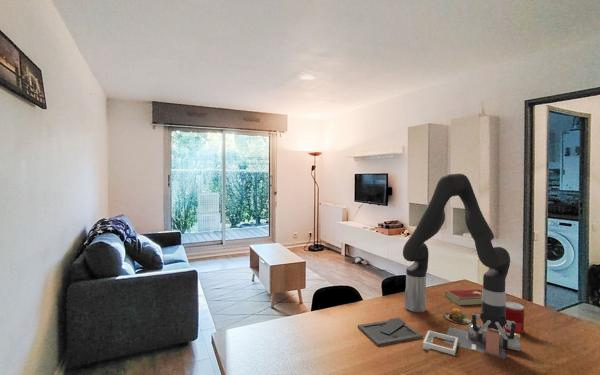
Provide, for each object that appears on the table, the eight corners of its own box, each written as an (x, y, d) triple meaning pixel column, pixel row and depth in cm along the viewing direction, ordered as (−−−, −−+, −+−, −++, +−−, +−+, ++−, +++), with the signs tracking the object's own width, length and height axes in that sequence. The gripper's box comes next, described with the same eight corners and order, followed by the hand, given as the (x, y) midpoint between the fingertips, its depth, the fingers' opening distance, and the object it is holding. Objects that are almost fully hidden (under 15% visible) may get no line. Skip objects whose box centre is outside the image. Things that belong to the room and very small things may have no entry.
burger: (477, 323, 141) (477, 307, 141) (462, 329, 135) (462, 312, 135) (452, 313, 151) (453, 298, 151) (437, 319, 145) (437, 303, 145)
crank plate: (444, 344, 122) (444, 342, 122) (449, 329, 135) (449, 326, 135) (505, 361, 111) (505, 358, 111) (504, 342, 124) (504, 339, 124)
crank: (467, 339, 124) (467, 325, 123) (468, 334, 128) (468, 320, 128) (520, 352, 114) (520, 337, 114) (519, 346, 119) (519, 332, 118)
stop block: (485, 352, 115) (486, 330, 115) (486, 347, 119) (486, 326, 119) (498, 355, 113) (499, 333, 113) (498, 350, 117) (499, 329, 116)
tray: (422, 348, 119) (423, 342, 119) (428, 336, 129) (428, 330, 128) (454, 357, 113) (454, 350, 113) (458, 344, 123) (458, 337, 123)
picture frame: (398, 321, 143) (357, 328, 136) (398, 317, 143) (357, 324, 136) (422, 339, 127) (377, 347, 121) (422, 334, 127) (377, 342, 121)
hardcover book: (445, 297, 172) (445, 289, 172) (479, 295, 175) (480, 288, 175) (459, 306, 160) (459, 298, 160) (496, 304, 163) (496, 296, 163)
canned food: (527, 335, 130) (527, 309, 129) (505, 333, 131) (506, 307, 131) (518, 326, 137) (518, 302, 137) (498, 325, 139) (498, 300, 138)
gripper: (470, 300, 116) (469, 344, 117) (517, 309, 108) (516, 356, 109) (472, 294, 122) (471, 335, 123) (516, 302, 115) (515, 346, 115)
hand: (492, 345), depth 116 cm, fingers open, 6 cm apart
